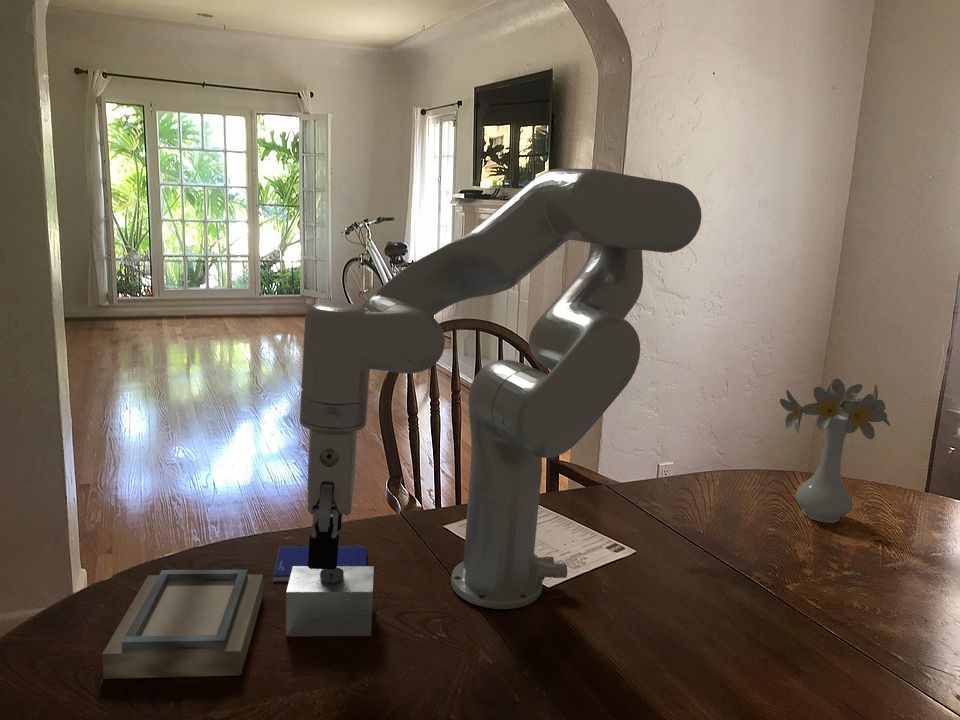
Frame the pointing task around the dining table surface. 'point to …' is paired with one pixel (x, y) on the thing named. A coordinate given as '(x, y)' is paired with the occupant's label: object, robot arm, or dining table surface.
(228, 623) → the stand
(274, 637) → the dining table surface
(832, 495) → the flower vase
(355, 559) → the hard drive
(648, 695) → the dining table surface
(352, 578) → the block
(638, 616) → the dining table surface
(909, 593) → the dining table surface
